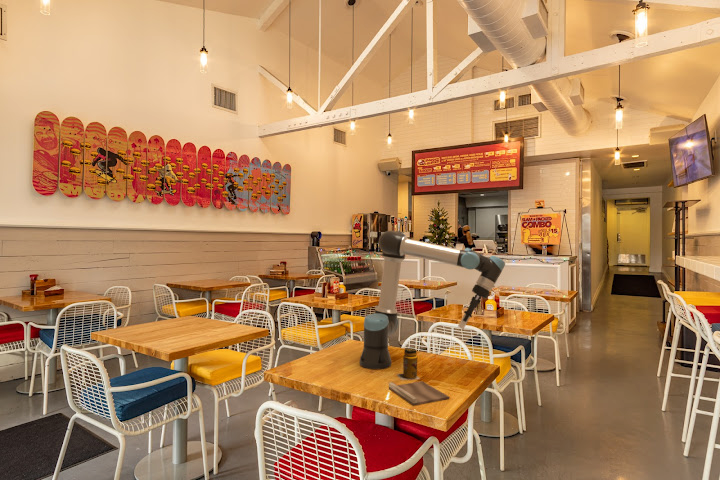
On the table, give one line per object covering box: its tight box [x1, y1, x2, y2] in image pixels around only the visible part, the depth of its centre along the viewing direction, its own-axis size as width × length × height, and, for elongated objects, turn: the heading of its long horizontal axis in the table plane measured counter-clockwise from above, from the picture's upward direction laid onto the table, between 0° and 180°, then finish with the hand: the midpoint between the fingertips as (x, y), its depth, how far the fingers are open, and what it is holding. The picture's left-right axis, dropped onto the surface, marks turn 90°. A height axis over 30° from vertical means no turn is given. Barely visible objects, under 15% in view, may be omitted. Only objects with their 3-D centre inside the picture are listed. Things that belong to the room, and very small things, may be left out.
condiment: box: [396, 347, 421, 381], centre depth 173 cm, size 7×8×12 cm
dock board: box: [388, 380, 450, 406], centre depth 154 cm, size 16×18×2 cm
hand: (460, 327), depth 182 cm, fingers open, 13 cm apart
